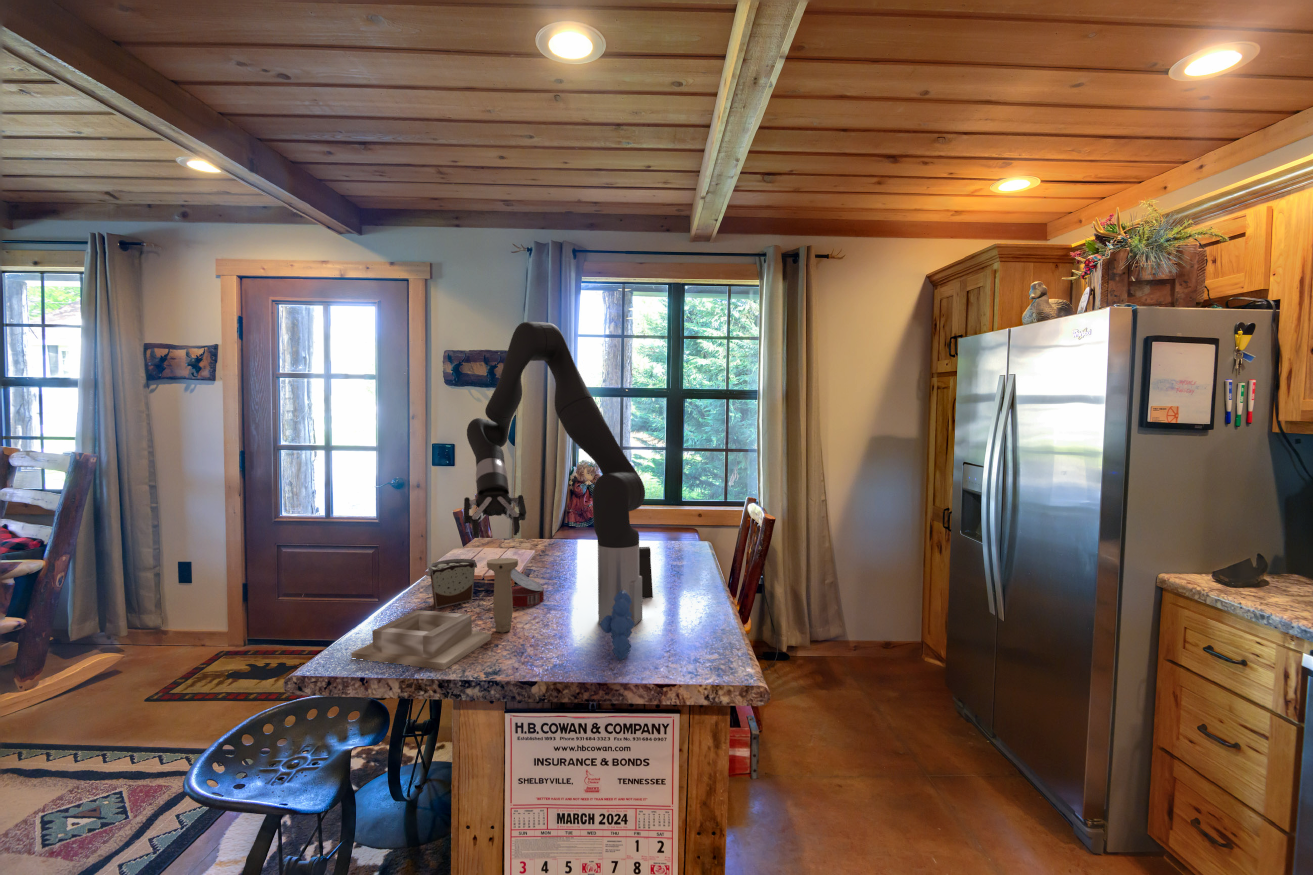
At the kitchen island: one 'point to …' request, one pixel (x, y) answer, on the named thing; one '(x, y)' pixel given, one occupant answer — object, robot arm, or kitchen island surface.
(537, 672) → the kitchen island surface
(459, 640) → the socket stand
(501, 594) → the handle
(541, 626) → the kitchen island surface
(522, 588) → the canned food
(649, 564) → the door stopper
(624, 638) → the grapes
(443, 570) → the food container
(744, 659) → the kitchen island surface
